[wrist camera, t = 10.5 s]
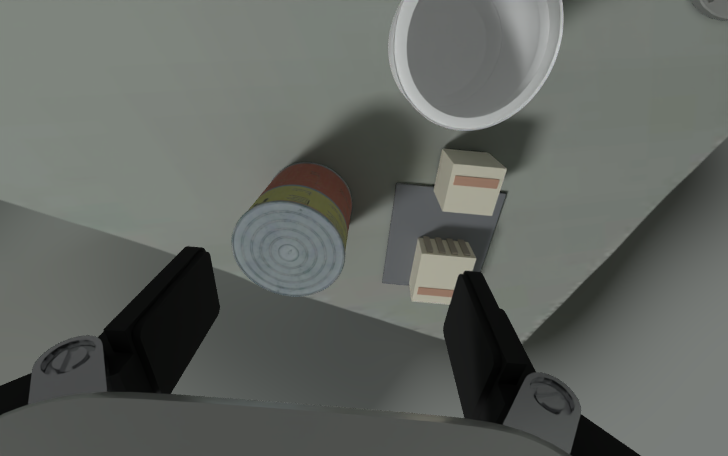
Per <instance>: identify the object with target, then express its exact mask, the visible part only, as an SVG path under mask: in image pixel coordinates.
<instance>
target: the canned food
mask: <svg viewBox="0 0 728 456" xmlns="http://www.w3.org/2000/svg"><path fill="white" fill-rule="evenodd" d="M352 206H353V203H352V196H351V193H350V190H349V188H348V186H347V184H346V183H345V181H344V180H343V179H342V178H341V177H340V176H339V175H338V174H337V173H336V172H335V171H333V170H332V169H330V168H328V167H326V166H324V165H321V164H317V163H312V162H301V163H295V164H292V165H289V166H287V167H285V168H284V169H282V170H281V171H280V172H279V173H278V174H277V175H276V176H275V177H274V178H273V180H272V182H271V183H270V184H269V186H268V187H267V188H266V189H265V190H264V192H263V193H262V194H261V195H260V197H259V198H258V199H257V200H256V201H255V203H254V204H253V205H252V206H251V207H250V209H249V210H248V211H247V212H246V213H245V214H244V215H243V216H242V217H241V218H240V219H239V220H238V222H237V224H236V226H235V228H234V230H233V234H232V251H233V255H234V258H235V260H236V262H237V264H238V266H239V267H240V269H241V270H242V271H243V273H244V274H245V275H246V276H247V277H248V278H249V279H250V280H251V281H253V282H254V283H255V284H257V285H258V286H260V287H262V288H264V289H266V290H268V291H270V292H273V293H276V294H280V295H285V296H307V295H312V294H315V293H318V292H320V291H322V290H324V289H326V288H327V287H329V286H330V285H331V284H333V283H334V282H335V280H336V279H337V278H338V277H339V275H340V273H341V271H342V269H343V266H344V262H345V249H346V242H347V236H348V229H349V222H350V217H351V213H352Z"/></svg>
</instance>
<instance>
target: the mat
mask: <svg viewBox="0 0 728 456" xmlns="http://www.w3.org/2000/svg"><path fill="white" fill-rule="evenodd" d="M505 197H506V193H501V192H500V193H499V196H498V199H497V202H496V205H495V208H494V211H493V214H492V216H487V215H476V214H465V213H454V212H443V211H442V209H441V207H440V204H439V202H438V200H437V198H436V195H435V193H434V186H425V185H415V184H404V183H396V190H395V197H394V204H393V211H392V217H391V224H390V231H389V238H388V245H387V252H386V259H385V266H384V273H383V279H382V283H386V284H397V285H409V281H410V275H411V270H412V265H413V260H414V255H415V250H416V245H417V240H418V238H423V236H428V237H429V238H430V239H435V237H439V238H441V240H446V238H450V239H453V241H458V239H461V240H464V241H465V242H468V243H469V245H470V247H471V249H472V251H473V253H474V255H475V257H476V262H475V265H474V268H473V271H477V272H480V271H481V268H482V265H483V262H484V259H485V256H486V253H487V250H488V247H489V244H490V241H491V238H492V235H493V232H494V229H495V226H496V223H497V220H498V217H499V214H500V211H501V208H502V205H503V202H504V200H505Z"/></svg>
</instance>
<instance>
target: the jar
mask: <svg viewBox="0 0 728 456" xmlns="http://www.w3.org/2000/svg"><path fill="white" fill-rule="evenodd" d="M562 32H563V3H562V0H401V2H400V4H399V6H398V8H397V10H396V12H395V15H394V18H393V21H392V24H391V28H390V33H389V42H388V54H389V62H390V67H391V71H392V74H393V77H394V79H395V82H396V84H397V86H398V87H399V89H400V91H401V92H402V94H403V95H404V96H405V97H406V98H407V100H408V101H409V102H410V103H411V105H412V106H413V107H414V108H415V109H416V110H417V111H418V112H419V113H420V114H421V115H422V116H424V117H425V118H426V119H428V120H429V121H431V122H433V123H435V124H437V125H439V126H441V127H444V128H447V129H452V130H458V131H473V130H480V129H484V128H488V127H491V126H494V125H496V124H498V123H500V122H502V121H504V120H506V119H508V118H510V117H511V116H513V115H514V114H515V113H517V112H518V111H519V110H521V109H522V108H523V107H524V106H525V105H526V104H527V103H528V102H529V101H530V100H531V99H532V98H533V97H534V96H535V95H536V93H537V92H538V91H539V89H540V88H541V87H542V85H543V84H544V82H545V80H546V79H547V77H548V75H549V73H550V71H551V69H552V67H553V65H554V63H555V60H556V57H557V54H558V51H559V48H560V44H561V39H562Z"/></svg>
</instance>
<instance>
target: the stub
mask: <svg viewBox="0 0 728 456" xmlns="http://www.w3.org/2000/svg"><path fill="white" fill-rule="evenodd" d="M506 171H507V168H506V167H504V166H503V165H502V164H501V163H500V162H499V161H497V160H496V159H495V158H494V157H493V156H492V155H490V154H489V153H486V152H475V151H464V150H454V149H443V148H442V153H441V157H440V162H439V167H438V172H437V177H436V181H435V186H434V193H435V195H436V198H437V200H438V202H439V204H440V207H441V209H442V211H443V212H454V213H465V214H476V215H487V216H492V214H493V211H494V208H495V205H496V202H497V199H498V196H499V193H500V190H501V187H502V183H503V180H504V177H505V174H506Z"/></svg>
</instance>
